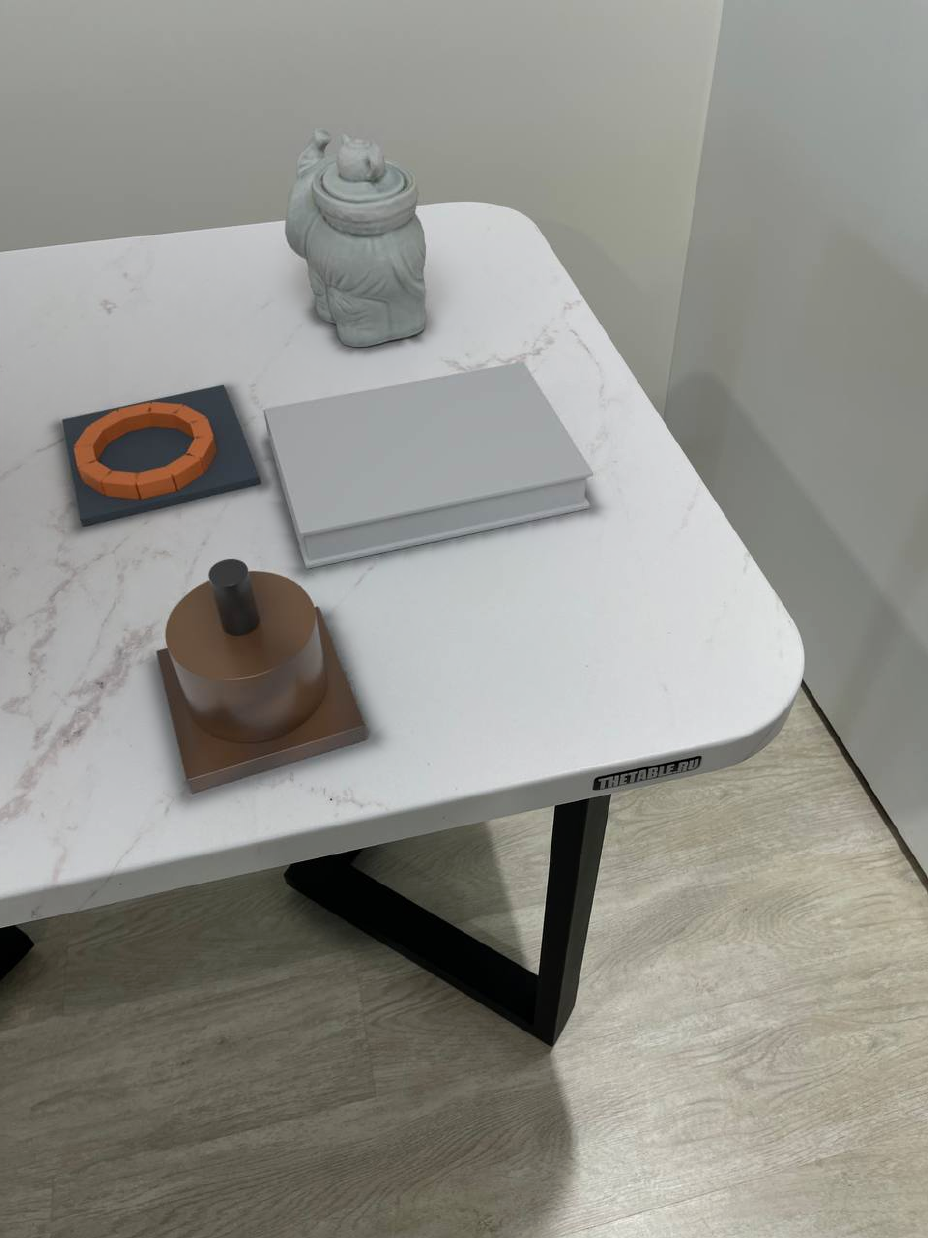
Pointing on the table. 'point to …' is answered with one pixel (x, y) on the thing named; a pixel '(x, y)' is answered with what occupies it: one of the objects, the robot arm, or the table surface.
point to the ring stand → (252, 677)
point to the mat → (165, 457)
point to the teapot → (359, 240)
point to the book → (423, 463)
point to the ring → (151, 480)
